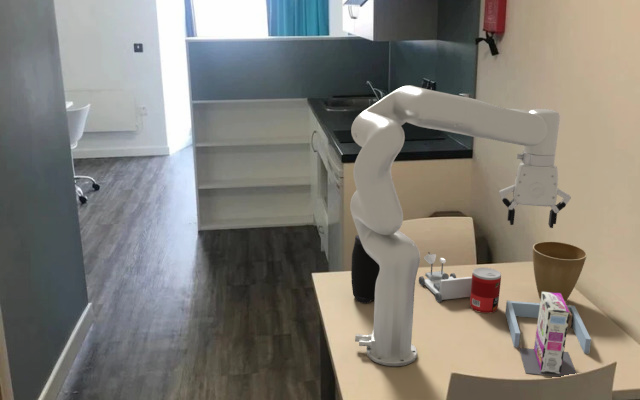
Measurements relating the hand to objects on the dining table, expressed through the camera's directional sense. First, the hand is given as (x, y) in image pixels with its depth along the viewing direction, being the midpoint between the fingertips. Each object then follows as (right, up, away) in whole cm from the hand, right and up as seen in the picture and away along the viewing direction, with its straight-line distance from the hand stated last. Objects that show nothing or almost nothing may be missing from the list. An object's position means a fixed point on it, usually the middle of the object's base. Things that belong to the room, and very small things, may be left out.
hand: (530, 224), depth 166 cm
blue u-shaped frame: (+6, -29, +8) cm, 31 cm away
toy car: (-16, -22, +35) cm, 44 cm away
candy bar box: (+2, -34, -7) cm, 34 cm away
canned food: (-6, -25, +22) cm, 34 cm away
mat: (+2, -34, -6) cm, 34 cm away
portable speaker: (-40, -23, +27) cm, 54 cm away
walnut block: (+13, -28, +13) cm, 33 cm away
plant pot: (+16, -24, +28) cm, 40 cm away
